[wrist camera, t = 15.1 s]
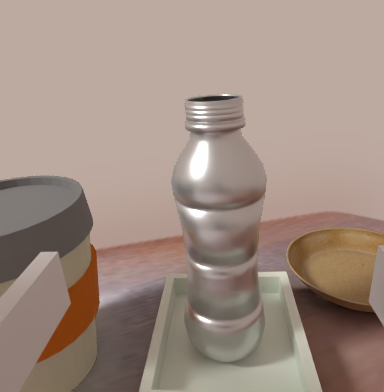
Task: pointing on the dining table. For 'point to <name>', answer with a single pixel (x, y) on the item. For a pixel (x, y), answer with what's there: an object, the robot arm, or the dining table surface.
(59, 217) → the reusable coffee cup
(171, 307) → the tray
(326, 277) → the plant saucer
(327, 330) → the dining table surface
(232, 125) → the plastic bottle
